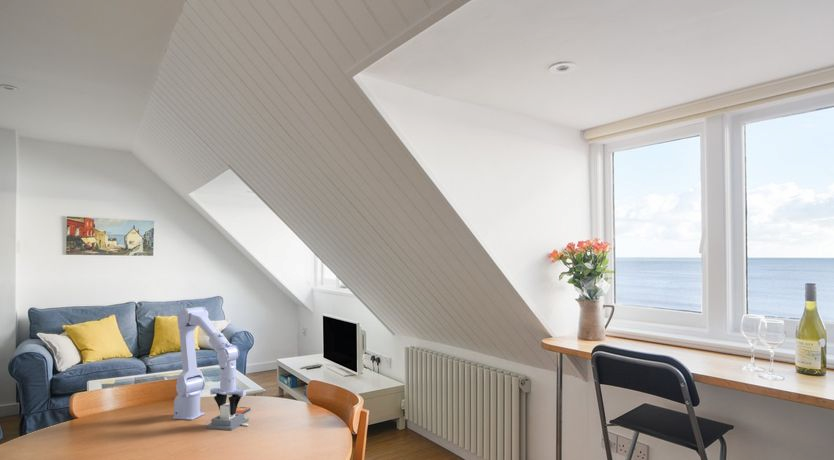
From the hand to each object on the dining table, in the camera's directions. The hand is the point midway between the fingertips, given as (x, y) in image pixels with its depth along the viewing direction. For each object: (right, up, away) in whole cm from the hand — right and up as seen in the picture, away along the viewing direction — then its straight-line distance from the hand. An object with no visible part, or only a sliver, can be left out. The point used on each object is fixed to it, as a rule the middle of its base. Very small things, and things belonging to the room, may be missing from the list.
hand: (227, 413), depth 190 cm
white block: (0, -2, 0) cm, 2 cm away
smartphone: (-2, -5, +12) cm, 13 cm away
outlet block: (+2, -4, -1) cm, 4 cm away
